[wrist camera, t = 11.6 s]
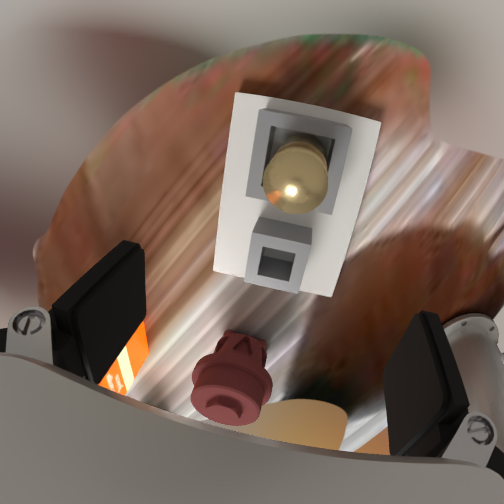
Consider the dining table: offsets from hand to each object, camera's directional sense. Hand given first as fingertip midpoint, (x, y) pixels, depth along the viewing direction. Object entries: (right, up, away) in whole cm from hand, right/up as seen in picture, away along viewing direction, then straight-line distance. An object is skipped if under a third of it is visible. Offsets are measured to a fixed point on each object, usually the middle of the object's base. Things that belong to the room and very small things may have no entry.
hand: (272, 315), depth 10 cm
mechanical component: (-2, -11, +34) cm, 36 cm away
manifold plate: (+3, +8, +23) cm, 25 cm away
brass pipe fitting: (+4, +11, +19) cm, 23 cm away
